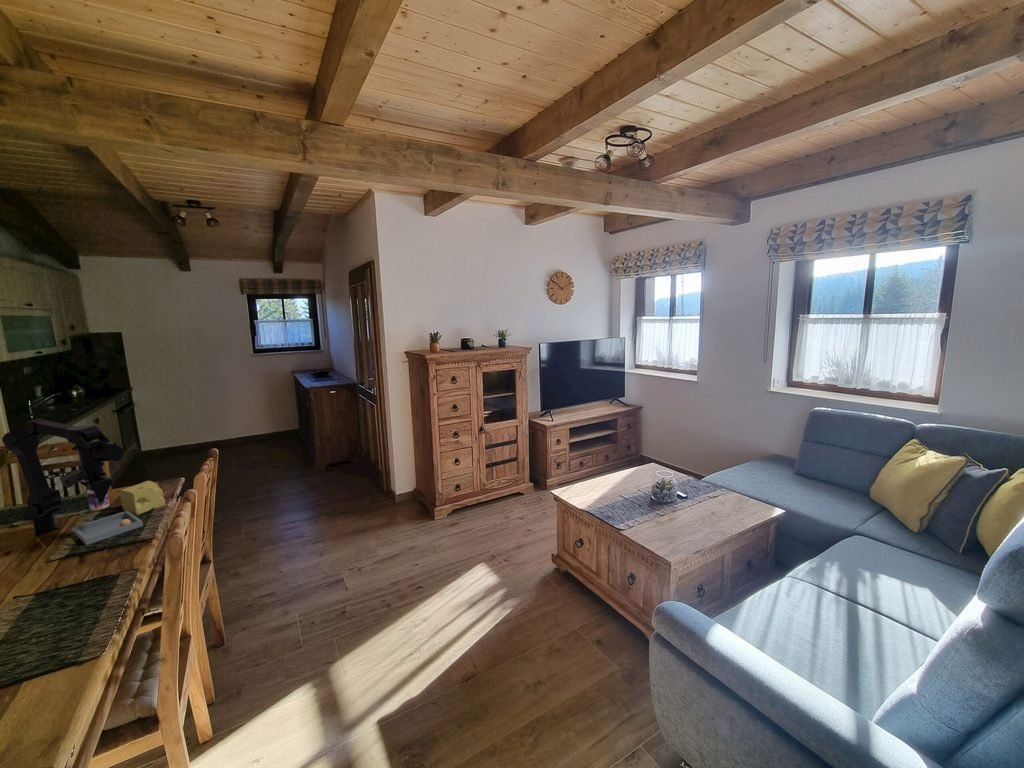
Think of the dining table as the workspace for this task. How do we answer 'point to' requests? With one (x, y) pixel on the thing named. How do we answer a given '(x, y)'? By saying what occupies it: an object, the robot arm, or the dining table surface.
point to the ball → (125, 522)
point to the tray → (106, 527)
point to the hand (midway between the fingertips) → (98, 500)
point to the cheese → (142, 497)
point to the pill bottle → (96, 501)
